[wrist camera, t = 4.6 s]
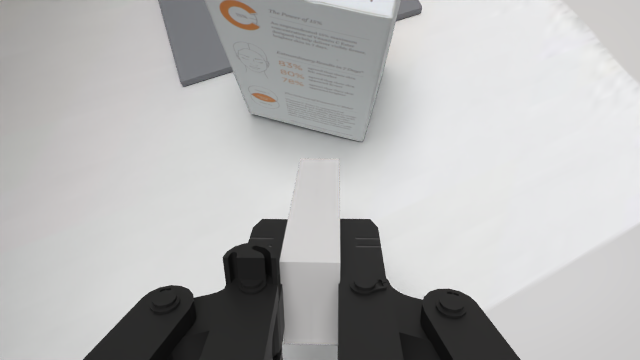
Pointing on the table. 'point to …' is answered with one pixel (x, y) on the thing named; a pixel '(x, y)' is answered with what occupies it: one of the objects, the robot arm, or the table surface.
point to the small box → (308, 58)
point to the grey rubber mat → (212, 38)
